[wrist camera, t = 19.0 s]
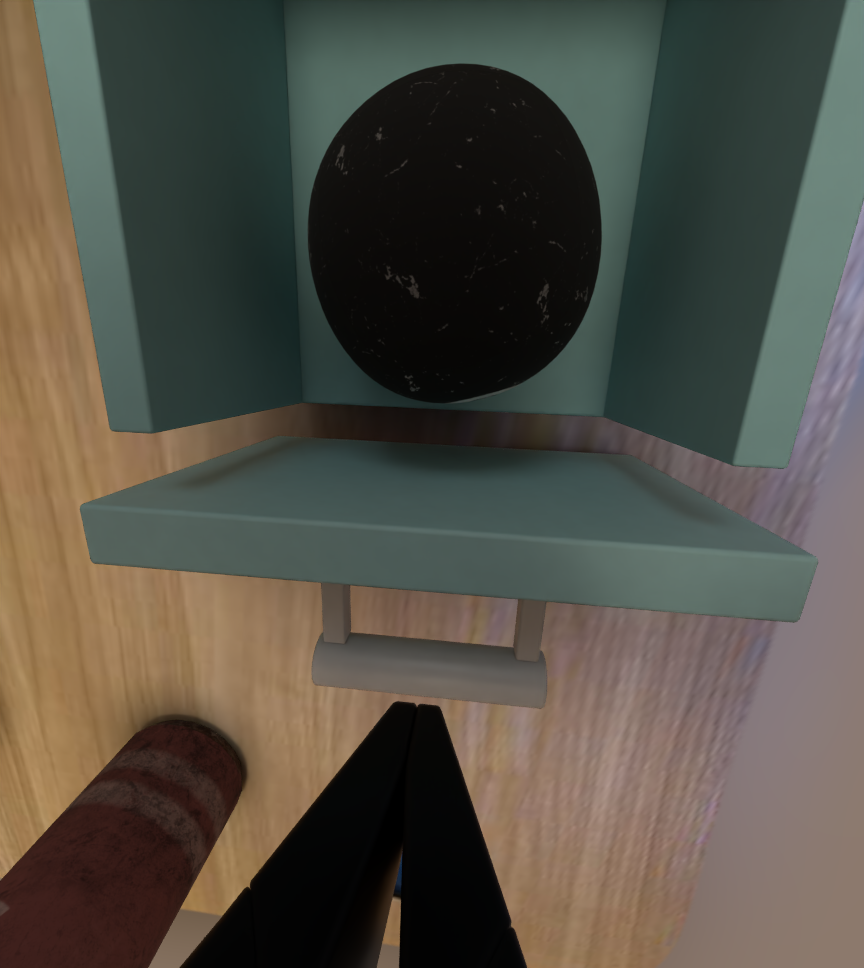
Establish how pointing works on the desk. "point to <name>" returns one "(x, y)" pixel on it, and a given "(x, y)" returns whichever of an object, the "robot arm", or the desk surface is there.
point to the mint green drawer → (554, 390)
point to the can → (121, 854)
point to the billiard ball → (455, 233)
